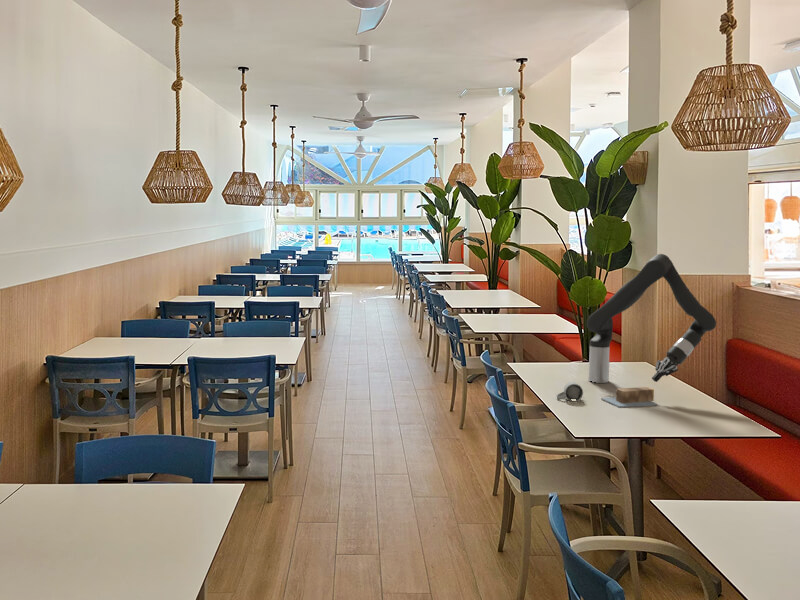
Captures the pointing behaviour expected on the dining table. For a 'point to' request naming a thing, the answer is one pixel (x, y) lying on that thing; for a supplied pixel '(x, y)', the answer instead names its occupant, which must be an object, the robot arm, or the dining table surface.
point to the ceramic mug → (571, 392)
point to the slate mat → (633, 404)
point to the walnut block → (634, 394)
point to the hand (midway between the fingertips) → (654, 380)
